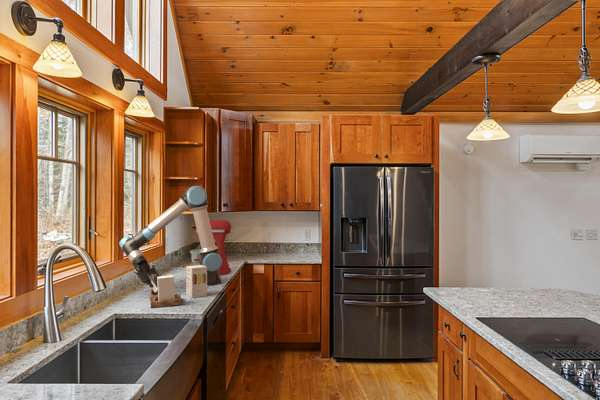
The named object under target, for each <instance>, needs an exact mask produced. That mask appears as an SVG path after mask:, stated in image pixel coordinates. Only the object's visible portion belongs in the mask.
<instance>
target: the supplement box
mask: <svg viewBox="0 0 600 400" xmlns="http://www.w3.org/2000/svg"><path fill="white" fill-rule="evenodd" d="M185 284H186V285H185V286H186V287H185V288H186V289H185V292H186V293H185V295H186V296H187V297H190V298H191V299H194V298H199V297H206V296H208V285H207V267H206V266H203V265H195V266H194V265H187V266H186V267H185Z"/></svg>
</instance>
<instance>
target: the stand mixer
mask: <svg viewBox="0 0 600 400" xmlns="http://www.w3.org/2000/svg"><path fill="white" fill-rule="evenodd" d="M209 221H210V225H211V230H212V234H213V238H214V241H215V245H216V246H217V247H218V249H219V253H220V256H221V258H222V265H221V267H220V268H219V269H218V272H219V275H220V276H224V275H229V274H231V273H232V268H231V267H230V264H229V261H228V258H227V256H226V250H225V249H226V248H225V240H226V237H227V235H228V234H231V229H232V224H231V222H230V221H229V220H226V219H220V220H219V219H217V220H215V219H211V220H210V219H209ZM191 228H192V229H193V230H195V233H196V237H198V238H199V236H198V231H197V227H196V224H192V227H191ZM201 249H202V248H201V244H199V245H198V246H197V247H196V248H195V249H191V250H189V253H190V255H191V257H190V258H191V263H192V266H195V265H200V250H201Z"/></svg>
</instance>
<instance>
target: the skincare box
mask: <svg viewBox="0 0 600 400" xmlns="http://www.w3.org/2000/svg"><path fill="white" fill-rule="evenodd" d="M159 276H160V277H157V283H158V287H157V288H158V301H164V300H175V294H176V291H175V277H174V275H173V274H169V275H159Z"/></svg>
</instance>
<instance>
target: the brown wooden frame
mask: <svg viewBox="0 0 600 400" xmlns="http://www.w3.org/2000/svg"><path fill="white" fill-rule="evenodd" d="M150 280H151V281H153V282H154V284H155V285H156V287H157V274H151V277H150ZM150 288H151V287H150ZM157 288H158V287H157ZM150 292H151V293H150V294H149V295H150V297H149V301H150V308H160V307H169V306H181V305H182V295H181V293H175V300H164V301H158V291H157V292H156V293H155V292H154V291H153V289H152V288H151V291H150Z"/></svg>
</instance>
